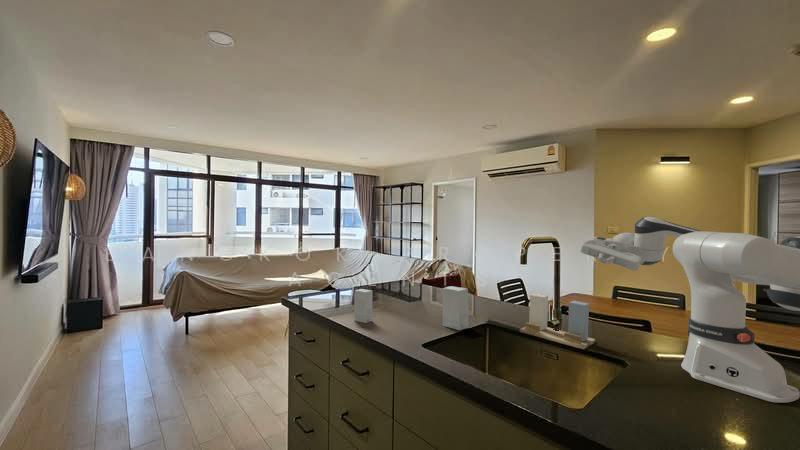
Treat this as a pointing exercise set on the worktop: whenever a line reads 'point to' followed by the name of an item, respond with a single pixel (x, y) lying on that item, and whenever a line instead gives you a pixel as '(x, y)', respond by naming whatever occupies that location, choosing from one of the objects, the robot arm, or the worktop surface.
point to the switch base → (557, 336)
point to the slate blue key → (578, 319)
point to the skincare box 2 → (455, 307)
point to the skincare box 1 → (363, 305)
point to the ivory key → (538, 310)
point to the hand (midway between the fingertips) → (602, 261)
